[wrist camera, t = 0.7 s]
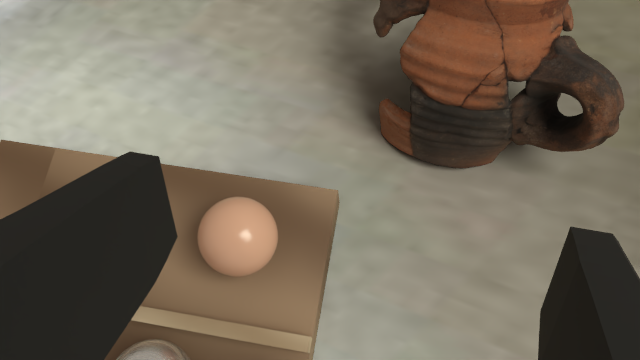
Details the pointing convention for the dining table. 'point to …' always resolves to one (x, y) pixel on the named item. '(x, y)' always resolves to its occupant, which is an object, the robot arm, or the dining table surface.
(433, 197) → the dining table surface
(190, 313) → the hole plate
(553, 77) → the pottery mug
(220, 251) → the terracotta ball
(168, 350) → the steel ball
